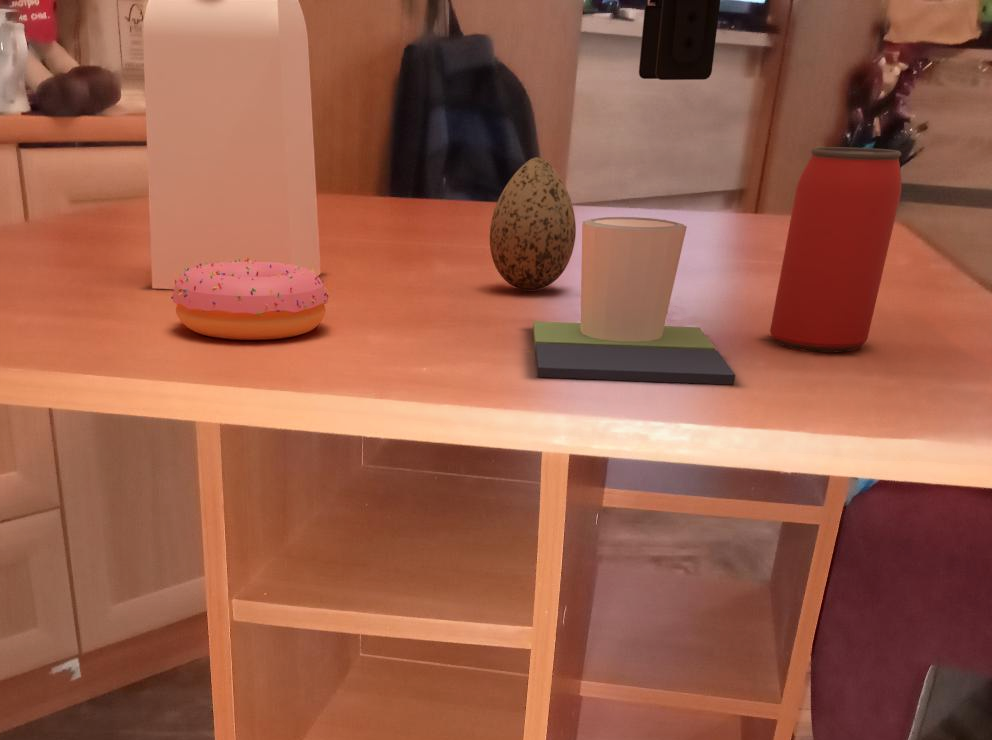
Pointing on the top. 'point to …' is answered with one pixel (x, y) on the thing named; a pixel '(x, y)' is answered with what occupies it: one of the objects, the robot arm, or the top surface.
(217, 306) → the doughnut
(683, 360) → the slate mat
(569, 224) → the decorative egg
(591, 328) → the cup
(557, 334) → the sage mat
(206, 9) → the milk
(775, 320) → the beer can
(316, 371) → the top surface
